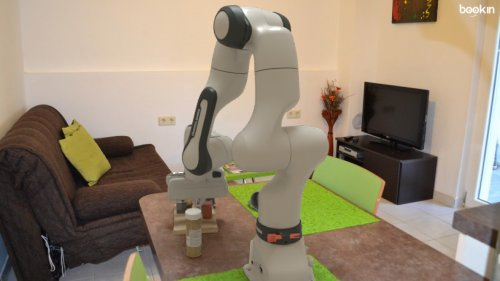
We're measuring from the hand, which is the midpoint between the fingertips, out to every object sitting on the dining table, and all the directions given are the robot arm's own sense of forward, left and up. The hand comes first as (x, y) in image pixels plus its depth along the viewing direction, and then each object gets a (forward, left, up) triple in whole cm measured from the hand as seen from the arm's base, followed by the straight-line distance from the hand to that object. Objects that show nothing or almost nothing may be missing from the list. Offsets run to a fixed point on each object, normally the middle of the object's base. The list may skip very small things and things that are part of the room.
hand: (198, 210), depth 134 cm
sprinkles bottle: (-21, +2, -5) cm, 22 cm away
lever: (+7, -3, -3) cm, 8 cm away
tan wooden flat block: (+3, +1, -5) cm, 6 cm away
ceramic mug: (+10, -24, -5) cm, 26 cm away
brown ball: (+8, +3, -3) cm, 10 cm away
